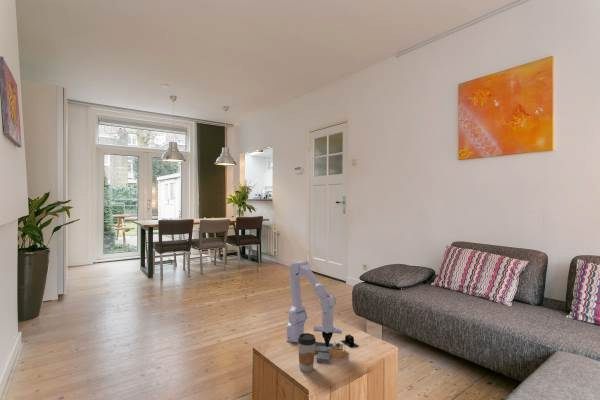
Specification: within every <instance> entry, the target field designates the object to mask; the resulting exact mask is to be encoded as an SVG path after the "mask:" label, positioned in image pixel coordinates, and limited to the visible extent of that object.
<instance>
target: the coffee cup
mask: <svg viewBox="0 0 600 400" xmlns="http://www.w3.org/2000/svg"><path fill="white" fill-rule="evenodd" d="M316 342H317V340H316V336H315V335H314V334H312V333H309V332H304V333H303V334H300V335H299V338H298V365H299V366H298V367H299V370H300V372H303V373H310V372H312V371H313V369H314V362H315V355H316V354H315V343H316Z"/></svg>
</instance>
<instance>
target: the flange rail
mask: <svg viewBox="0 0 600 400" xmlns="http://www.w3.org/2000/svg"><path fill="white" fill-rule="evenodd" d="M333 343H334V342H329V347H326V344H325V341H324V342H323V341H316V343H315V355H318V353H319V352H321V353H330V354H331V358H338V359H339V358H340V359H344V358H345V351H346V350H345V346H346V345H345V344H344V343H340V344H341V350H333V349H331V347H332V345H333Z"/></svg>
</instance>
